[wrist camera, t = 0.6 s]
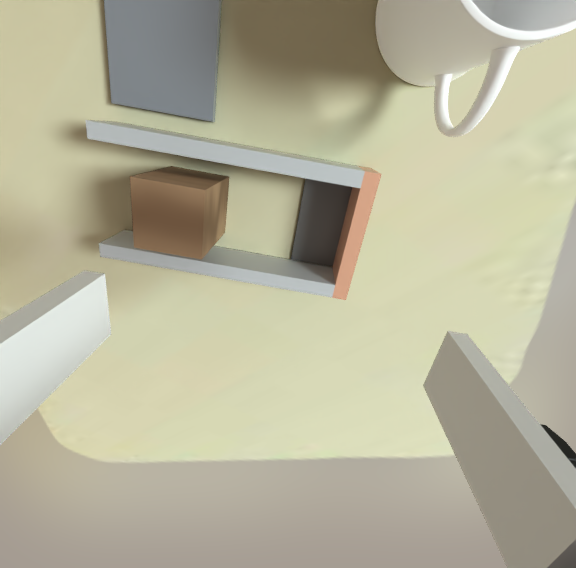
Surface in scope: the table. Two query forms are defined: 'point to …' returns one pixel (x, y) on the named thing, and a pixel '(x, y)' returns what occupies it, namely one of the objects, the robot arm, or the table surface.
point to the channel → (311, 224)
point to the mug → (464, 43)
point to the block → (178, 210)
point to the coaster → (164, 55)
